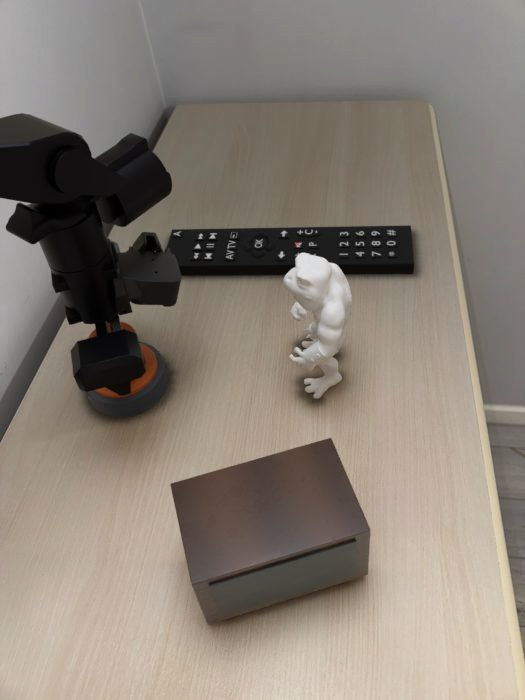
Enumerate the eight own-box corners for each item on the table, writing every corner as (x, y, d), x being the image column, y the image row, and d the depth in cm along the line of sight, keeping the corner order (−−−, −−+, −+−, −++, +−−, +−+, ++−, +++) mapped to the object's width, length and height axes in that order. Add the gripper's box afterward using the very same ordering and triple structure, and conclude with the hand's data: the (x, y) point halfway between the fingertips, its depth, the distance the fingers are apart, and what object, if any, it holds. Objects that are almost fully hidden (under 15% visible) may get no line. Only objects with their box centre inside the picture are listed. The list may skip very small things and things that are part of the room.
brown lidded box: (210, 632, 56) (191, 587, 49) (188, 534, 62) (170, 483, 56) (368, 582, 58) (371, 532, 51) (332, 492, 64) (331, 437, 57)
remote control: (172, 238, 92) (169, 226, 91) (409, 234, 88) (410, 222, 87) (161, 275, 87) (158, 263, 86) (413, 273, 83) (414, 261, 82)
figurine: (356, 405, 70) (358, 301, 59) (293, 409, 71) (282, 306, 60) (347, 331, 78) (347, 225, 67) (290, 334, 78) (280, 230, 67)
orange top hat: (91, 406, 70) (77, 375, 67) (85, 355, 75) (71, 323, 72) (163, 387, 71) (153, 355, 68) (151, 337, 76) (141, 306, 73)
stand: (92, 427, 72) (85, 412, 70) (84, 367, 78) (78, 352, 76) (174, 404, 73) (170, 390, 71) (160, 347, 79) (156, 332, 77)
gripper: (184, 296, 56) (211, 410, 67) (149, 178, 68) (177, 291, 80) (50, 330, 55) (101, 440, 66) (39, 203, 67) (84, 315, 79)
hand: (120, 365), depth 73 cm, fingers open, 8 cm apart
